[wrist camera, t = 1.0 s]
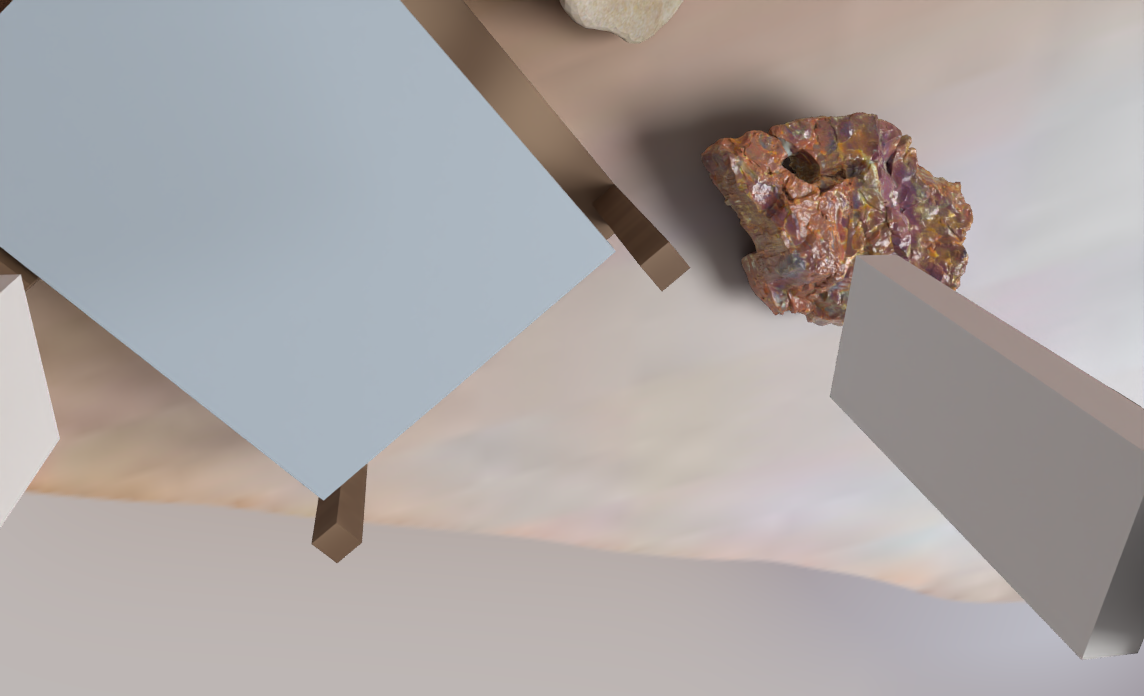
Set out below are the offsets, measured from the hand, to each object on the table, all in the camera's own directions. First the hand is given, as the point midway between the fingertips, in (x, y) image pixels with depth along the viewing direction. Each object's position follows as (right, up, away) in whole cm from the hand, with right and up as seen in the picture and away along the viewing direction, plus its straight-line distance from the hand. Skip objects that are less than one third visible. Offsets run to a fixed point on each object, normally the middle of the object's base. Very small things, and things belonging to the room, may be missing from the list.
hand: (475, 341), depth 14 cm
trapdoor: (-8, +6, +15) cm, 18 cm away
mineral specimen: (+12, +6, +24) cm, 28 cm away
